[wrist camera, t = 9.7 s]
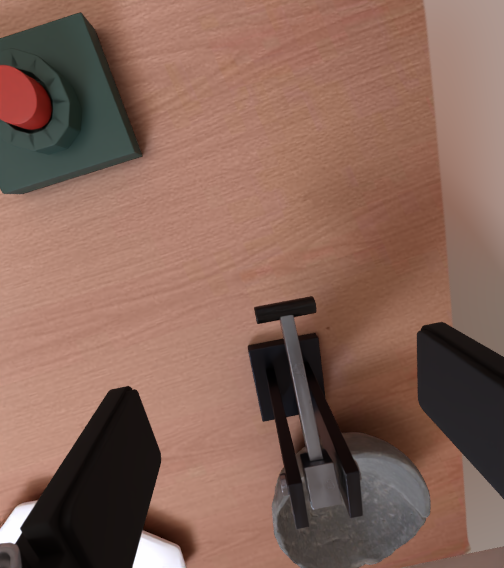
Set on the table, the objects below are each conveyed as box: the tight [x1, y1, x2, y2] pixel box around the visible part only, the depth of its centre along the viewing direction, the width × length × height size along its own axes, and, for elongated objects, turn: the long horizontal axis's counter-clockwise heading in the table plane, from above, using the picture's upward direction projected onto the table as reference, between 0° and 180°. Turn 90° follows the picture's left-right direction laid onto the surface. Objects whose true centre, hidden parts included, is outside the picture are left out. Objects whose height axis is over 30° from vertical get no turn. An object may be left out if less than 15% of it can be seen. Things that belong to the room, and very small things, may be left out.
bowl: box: [272, 432, 430, 568], centre depth 34 cm, size 18×18×8 cm
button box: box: [0, 12, 142, 194], centre depth 23 cm, size 12×10×4 cm
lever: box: [254, 296, 342, 510], centre depth 22 cm, size 15×5×2 cm, turn 10°
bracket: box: [248, 333, 363, 529], centre depth 27 cm, size 10×8×15 cm
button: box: [0, 65, 52, 130], centre depth 20 cm, size 4×4×2 cm
